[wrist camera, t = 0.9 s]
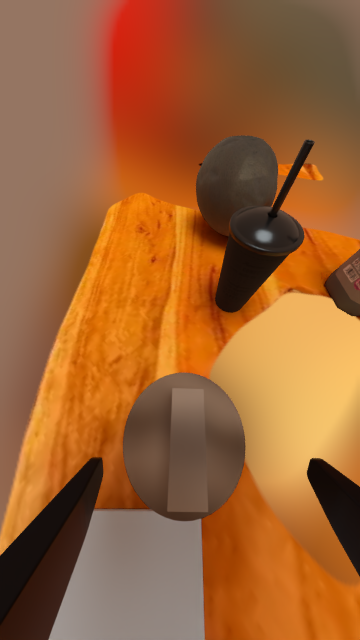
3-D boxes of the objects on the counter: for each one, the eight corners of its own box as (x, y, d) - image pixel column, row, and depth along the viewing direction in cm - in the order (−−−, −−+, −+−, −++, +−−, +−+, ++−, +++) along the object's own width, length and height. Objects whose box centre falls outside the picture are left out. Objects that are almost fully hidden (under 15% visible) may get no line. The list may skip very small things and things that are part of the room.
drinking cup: (223, 327, 27) (315, 176, 10) (198, 293, 30) (234, 129, 13) (260, 308, 29) (392, 153, 12) (233, 278, 32) (305, 118, 15)
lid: (250, 515, 14) (285, 563, 10) (115, 513, 14) (87, 561, 9) (233, 376, 19) (251, 365, 15) (135, 373, 19) (123, 361, 15)
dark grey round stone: (243, 211, 43) (275, 121, 29) (264, 250, 36) (316, 158, 23) (188, 214, 41) (195, 121, 28) (198, 255, 35) (214, 160, 22)
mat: (208, 815, 11) (209, 828, 11) (-15, 822, 11) (-21, 836, 10) (200, 509, 18) (201, 511, 17) (61, 508, 17) (59, 510, 17)
